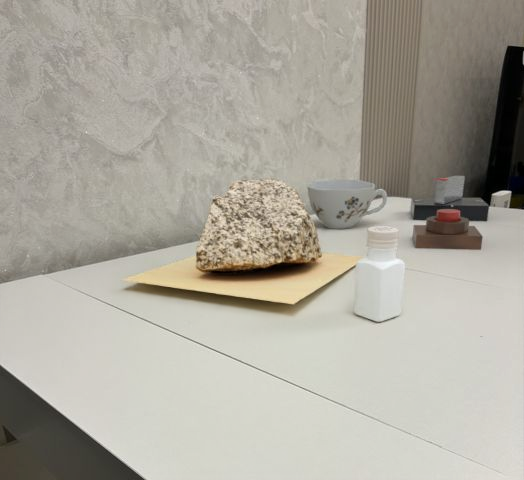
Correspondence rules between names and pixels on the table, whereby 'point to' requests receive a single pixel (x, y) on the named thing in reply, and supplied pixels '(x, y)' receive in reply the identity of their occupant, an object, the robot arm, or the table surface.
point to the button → (448, 215)
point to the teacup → (343, 201)
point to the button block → (447, 235)
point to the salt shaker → (379, 276)
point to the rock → (255, 248)
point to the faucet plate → (467, 206)
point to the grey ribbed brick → (449, 189)
